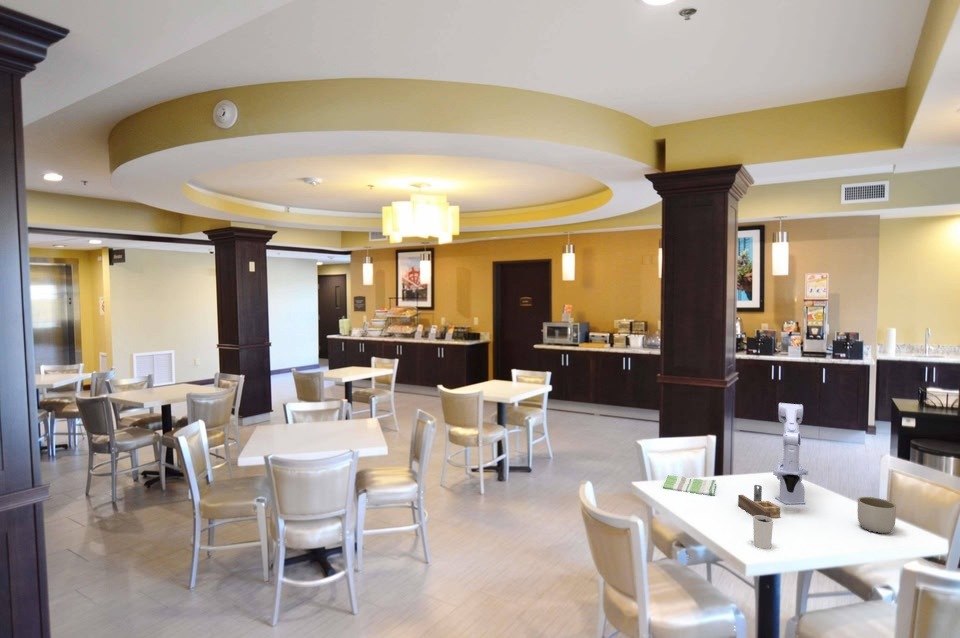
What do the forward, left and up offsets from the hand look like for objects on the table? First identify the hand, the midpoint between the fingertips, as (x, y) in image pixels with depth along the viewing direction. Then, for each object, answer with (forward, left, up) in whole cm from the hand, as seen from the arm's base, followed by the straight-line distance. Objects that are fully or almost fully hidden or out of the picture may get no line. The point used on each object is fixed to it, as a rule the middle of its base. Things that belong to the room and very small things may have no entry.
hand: (790, 491), depth 238 cm
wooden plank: (+16, 0, -9) cm, 19 cm away
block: (+11, 0, -9) cm, 14 cm away
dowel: (+7, -12, -9) cm, 17 cm away
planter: (-24, +18, -10) cm, 32 cm away
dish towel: (+27, -35, -10) cm, 46 cm away
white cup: (+30, +28, -10) cm, 42 cm away
